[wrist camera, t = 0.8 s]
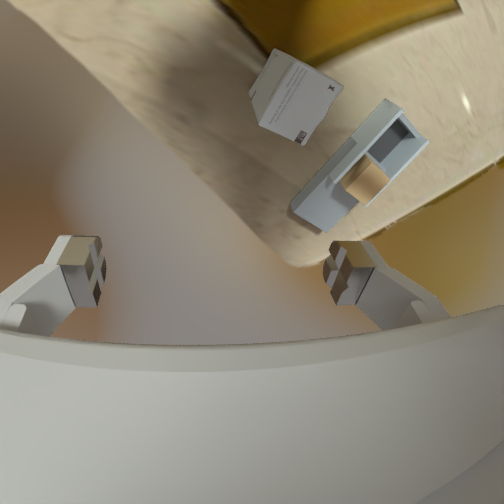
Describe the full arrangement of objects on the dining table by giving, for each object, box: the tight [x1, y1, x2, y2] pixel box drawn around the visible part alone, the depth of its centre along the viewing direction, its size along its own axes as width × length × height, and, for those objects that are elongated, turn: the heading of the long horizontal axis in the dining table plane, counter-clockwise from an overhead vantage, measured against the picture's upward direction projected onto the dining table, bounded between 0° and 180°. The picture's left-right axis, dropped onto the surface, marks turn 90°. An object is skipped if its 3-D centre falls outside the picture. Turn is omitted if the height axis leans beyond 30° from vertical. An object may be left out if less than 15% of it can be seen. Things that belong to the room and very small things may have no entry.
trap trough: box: [290, 99, 429, 233], centre depth 44 cm, size 25×8×6 cm, turn 145°
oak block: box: [339, 154, 391, 206], centre depth 42 cm, size 6×5×4 cm
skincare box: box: [249, 48, 344, 146], centre depth 31 cm, size 8×6×15 cm
